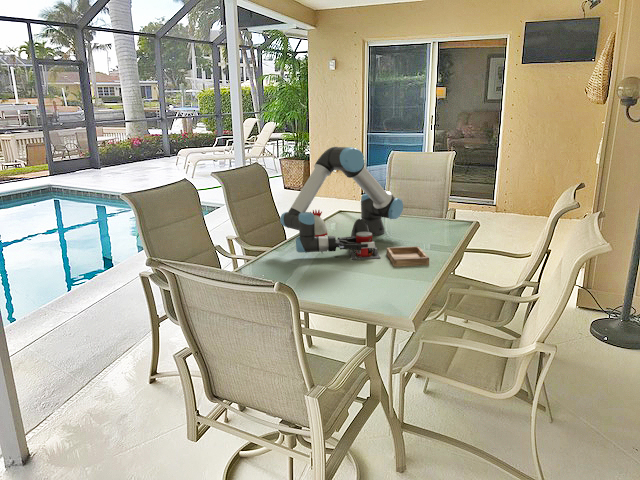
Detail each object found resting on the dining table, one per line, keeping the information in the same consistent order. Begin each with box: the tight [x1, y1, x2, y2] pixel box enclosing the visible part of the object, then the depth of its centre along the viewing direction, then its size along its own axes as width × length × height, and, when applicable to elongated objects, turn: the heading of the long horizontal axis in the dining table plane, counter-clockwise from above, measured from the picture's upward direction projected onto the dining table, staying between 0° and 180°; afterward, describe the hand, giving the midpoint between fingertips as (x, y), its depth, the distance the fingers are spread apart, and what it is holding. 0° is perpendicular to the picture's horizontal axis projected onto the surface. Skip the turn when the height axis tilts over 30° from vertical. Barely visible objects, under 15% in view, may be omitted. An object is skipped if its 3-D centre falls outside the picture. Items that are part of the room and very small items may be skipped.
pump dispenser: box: [350, 217, 369, 243], centre depth 254 cm, size 10×10×15 cm
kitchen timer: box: [312, 209, 328, 237], centre depth 282 cm, size 14×14×15 cm
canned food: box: [355, 232, 373, 257], centre depth 240 cm, size 8×8×11 cm
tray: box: [386, 245, 430, 267], centre depth 232 cm, size 20×16×3 cm
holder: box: [348, 245, 381, 261], centre depth 241 cm, size 14×14×4 cm
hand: (372, 241), depth 240 cm, fingers open, 10 cm apart
